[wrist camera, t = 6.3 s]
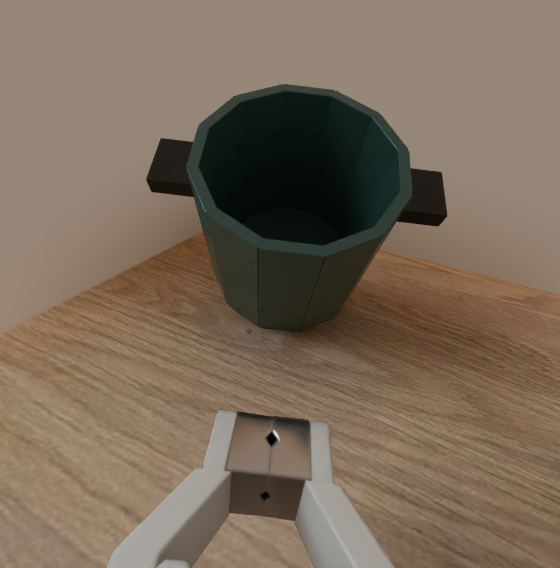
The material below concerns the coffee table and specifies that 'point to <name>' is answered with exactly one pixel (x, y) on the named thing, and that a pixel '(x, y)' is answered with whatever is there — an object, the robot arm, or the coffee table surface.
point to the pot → (295, 198)
